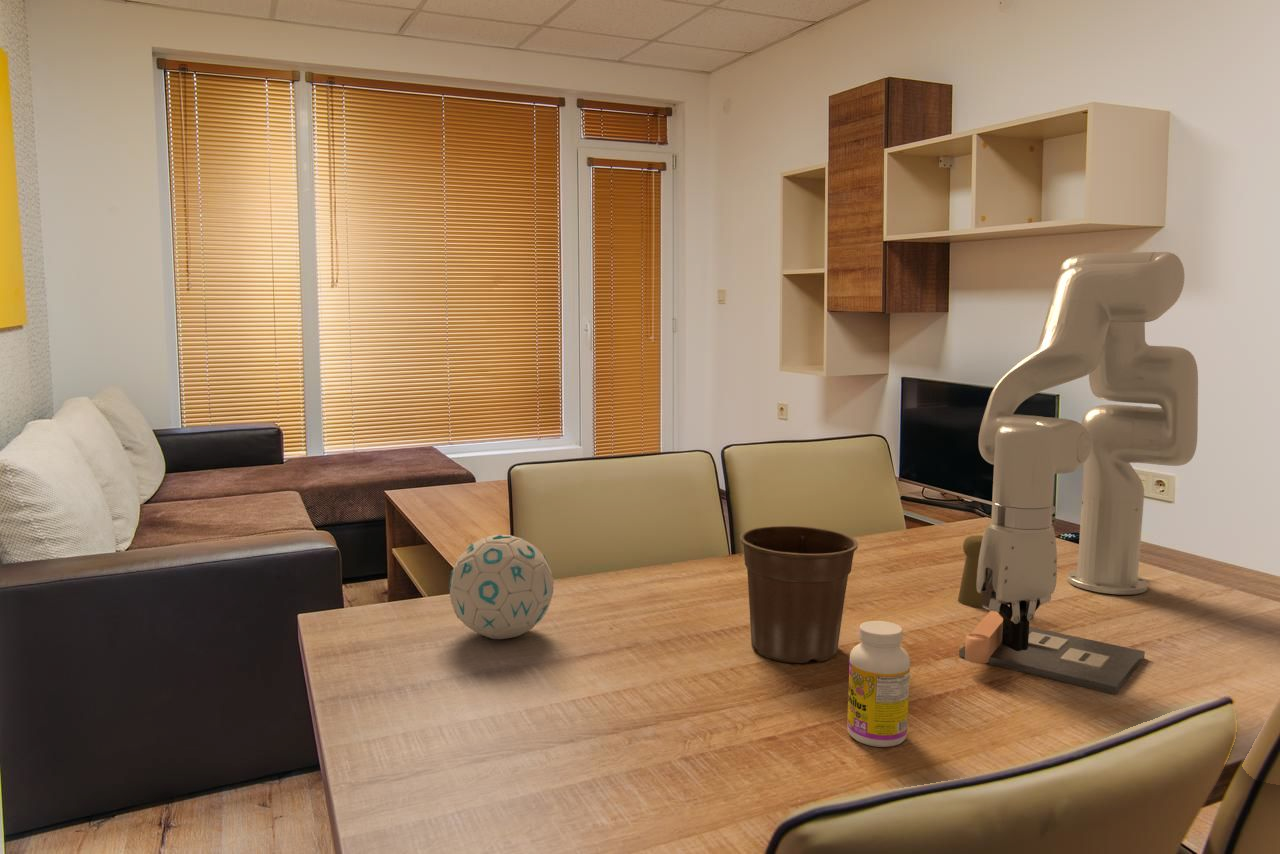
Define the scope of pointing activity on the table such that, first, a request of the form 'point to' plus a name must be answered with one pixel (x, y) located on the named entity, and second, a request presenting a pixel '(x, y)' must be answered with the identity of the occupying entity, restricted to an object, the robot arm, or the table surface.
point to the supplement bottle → (878, 686)
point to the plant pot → (796, 590)
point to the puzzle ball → (501, 586)
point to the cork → (971, 573)
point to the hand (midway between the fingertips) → (1014, 647)
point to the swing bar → (984, 639)
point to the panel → (1070, 660)
